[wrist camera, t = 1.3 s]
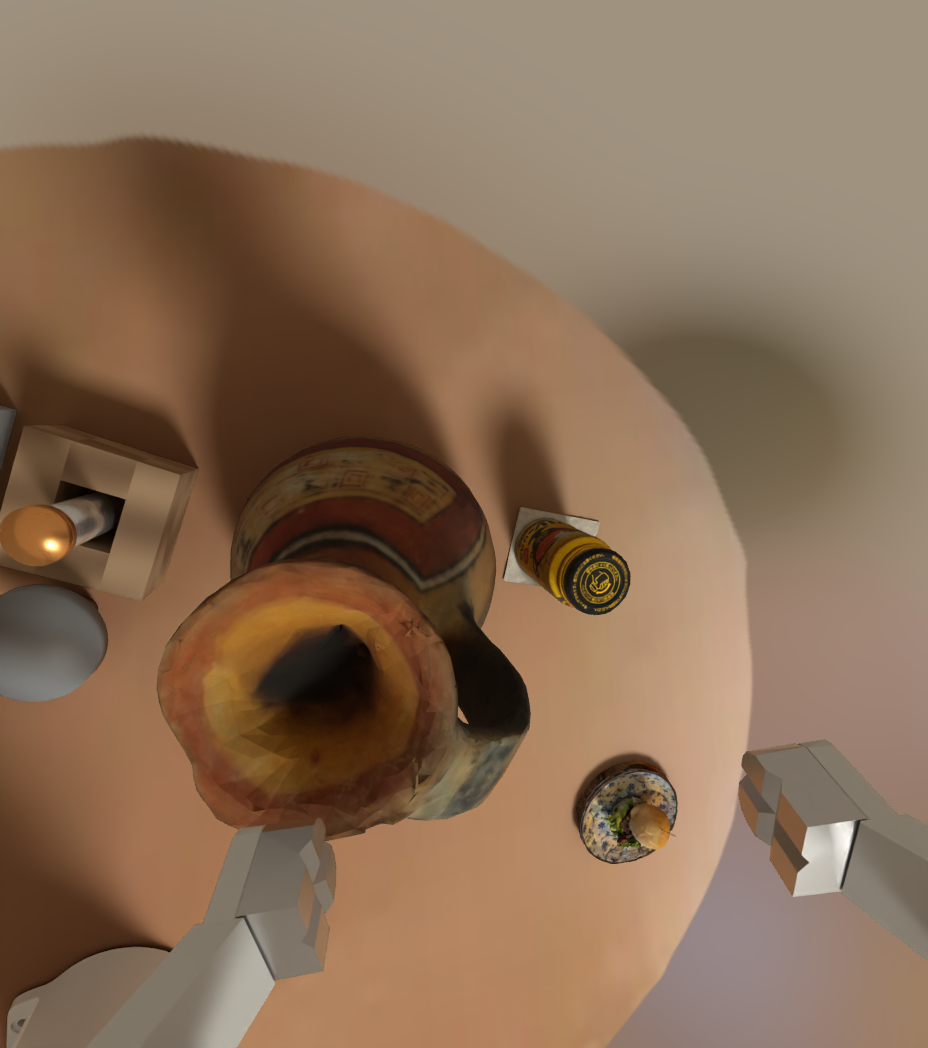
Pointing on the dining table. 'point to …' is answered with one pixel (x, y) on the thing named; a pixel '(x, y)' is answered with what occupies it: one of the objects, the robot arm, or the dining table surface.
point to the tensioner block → (83, 554)
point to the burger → (627, 812)
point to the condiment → (567, 561)
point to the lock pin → (58, 527)
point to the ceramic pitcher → (348, 649)
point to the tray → (5, 429)
